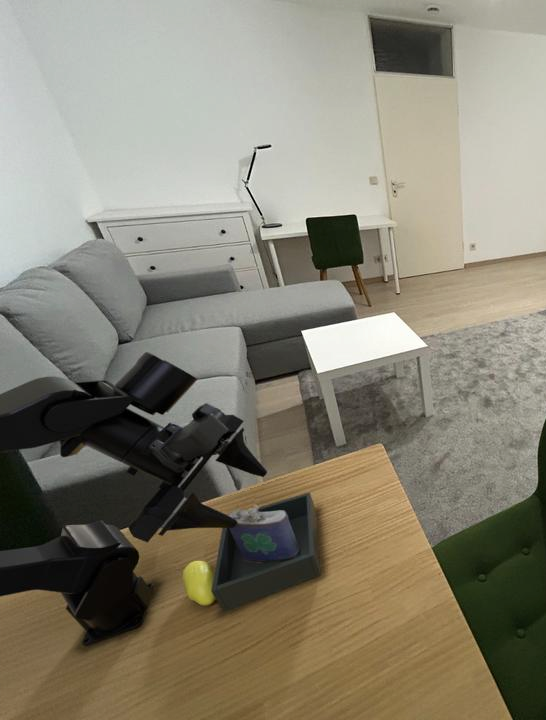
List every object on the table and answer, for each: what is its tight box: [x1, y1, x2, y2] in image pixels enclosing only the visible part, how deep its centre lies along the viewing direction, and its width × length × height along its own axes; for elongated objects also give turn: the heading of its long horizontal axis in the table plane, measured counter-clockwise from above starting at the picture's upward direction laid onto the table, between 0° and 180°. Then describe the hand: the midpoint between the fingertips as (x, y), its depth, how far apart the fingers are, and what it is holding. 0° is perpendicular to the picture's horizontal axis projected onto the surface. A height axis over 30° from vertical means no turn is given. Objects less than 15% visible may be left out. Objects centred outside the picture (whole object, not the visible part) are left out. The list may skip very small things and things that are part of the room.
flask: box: [227, 504, 300, 563], centre depth 60 cm, size 9×3×11 cm, turn 89°
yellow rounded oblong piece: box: [182, 560, 217, 607], centre depth 57 cm, size 4×8×4 cm
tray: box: [211, 492, 322, 612], centre depth 62 cm, size 13×13×5 cm
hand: (251, 497), depth 57 cm, fingers open, 9 cm apart
